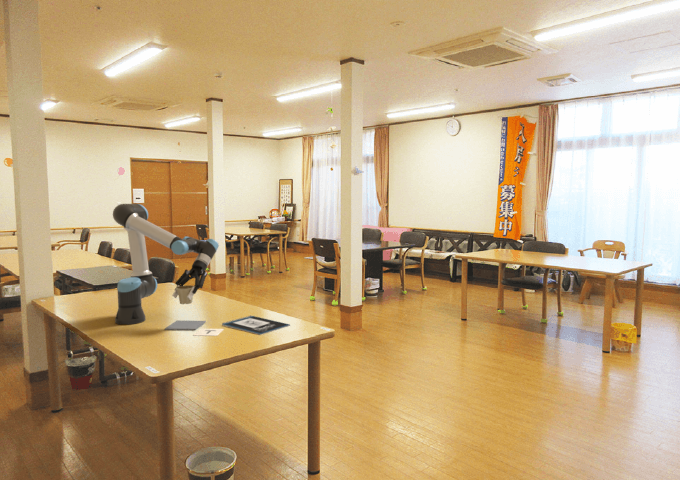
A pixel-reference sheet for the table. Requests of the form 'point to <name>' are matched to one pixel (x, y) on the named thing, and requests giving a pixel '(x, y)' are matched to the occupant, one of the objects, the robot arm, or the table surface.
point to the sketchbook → (255, 325)
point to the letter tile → (208, 332)
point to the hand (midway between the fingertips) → (181, 297)
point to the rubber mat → (185, 325)
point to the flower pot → (184, 294)
